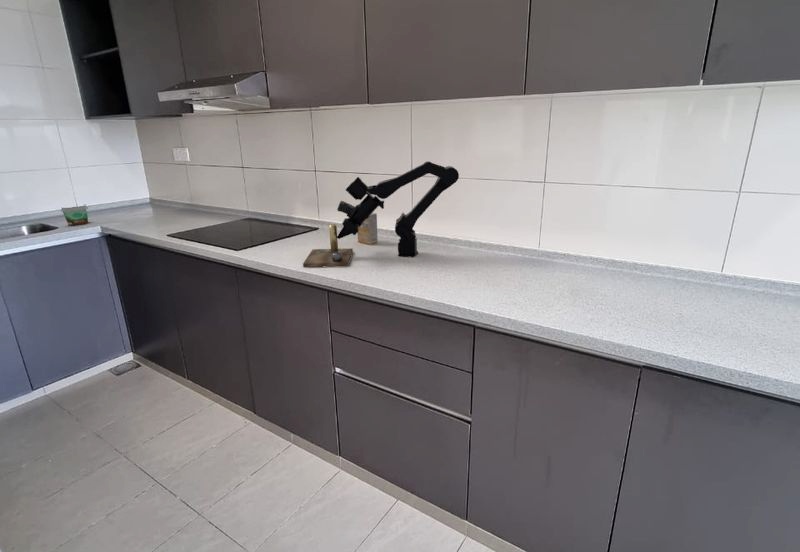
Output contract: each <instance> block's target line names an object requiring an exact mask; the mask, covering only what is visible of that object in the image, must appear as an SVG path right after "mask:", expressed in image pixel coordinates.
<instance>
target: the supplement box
mask: <svg viewBox="0 0 800 552" xmlns="http://www.w3.org/2000/svg"><path fill="white" fill-rule="evenodd" d="M378 240H379V239H378V213H376V212H372V214H371V215H370V216H369V218H368V219H366V220H365V221H364V222H363V223H362V225H361V226H360V227H359V231H358V233H357V242H358V243H361V242H362V244H365V243H366V244H365V245H369V244H372V245H375V244H374V243H376V244H378V243H377V242H379V241H378Z"/></svg>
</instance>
